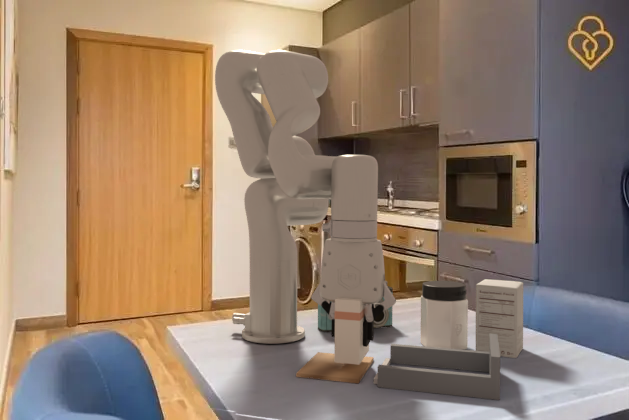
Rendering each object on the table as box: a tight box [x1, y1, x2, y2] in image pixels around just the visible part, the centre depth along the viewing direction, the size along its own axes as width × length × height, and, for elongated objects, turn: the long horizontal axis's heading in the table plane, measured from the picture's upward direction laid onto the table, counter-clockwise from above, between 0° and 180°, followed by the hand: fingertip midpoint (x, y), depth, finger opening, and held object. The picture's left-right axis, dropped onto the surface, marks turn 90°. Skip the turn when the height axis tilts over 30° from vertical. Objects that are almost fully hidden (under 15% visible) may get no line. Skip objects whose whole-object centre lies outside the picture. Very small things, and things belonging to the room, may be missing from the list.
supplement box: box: [475, 278, 524, 359], centre depth 100 cm, size 7×7×13 cm
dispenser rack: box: [373, 334, 501, 401], centre depth 84 cm, size 18×13×6 cm
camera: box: [317, 280, 394, 333], centre depth 114 cm, size 16×10×10 cm, turn 108°
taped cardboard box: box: [333, 298, 370, 365], centre depth 88 cm, size 4×8×10 cm, turn 164°
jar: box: [420, 280, 469, 350], centre depth 102 cm, size 9×8×12 cm
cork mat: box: [295, 351, 375, 384], centre depth 89 cm, size 10×12×1 cm
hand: (352, 341), depth 88 cm, fingers closed on taped cardboard box, 4 cm apart
